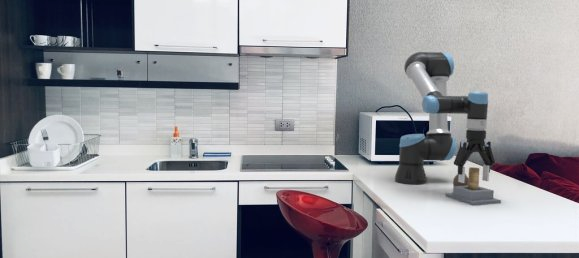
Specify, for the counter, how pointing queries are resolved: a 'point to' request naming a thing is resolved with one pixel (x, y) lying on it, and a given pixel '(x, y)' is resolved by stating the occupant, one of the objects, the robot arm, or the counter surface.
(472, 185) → the peg
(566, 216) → the counter surface
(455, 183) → the vase
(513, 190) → the counter surface
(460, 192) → the socket
